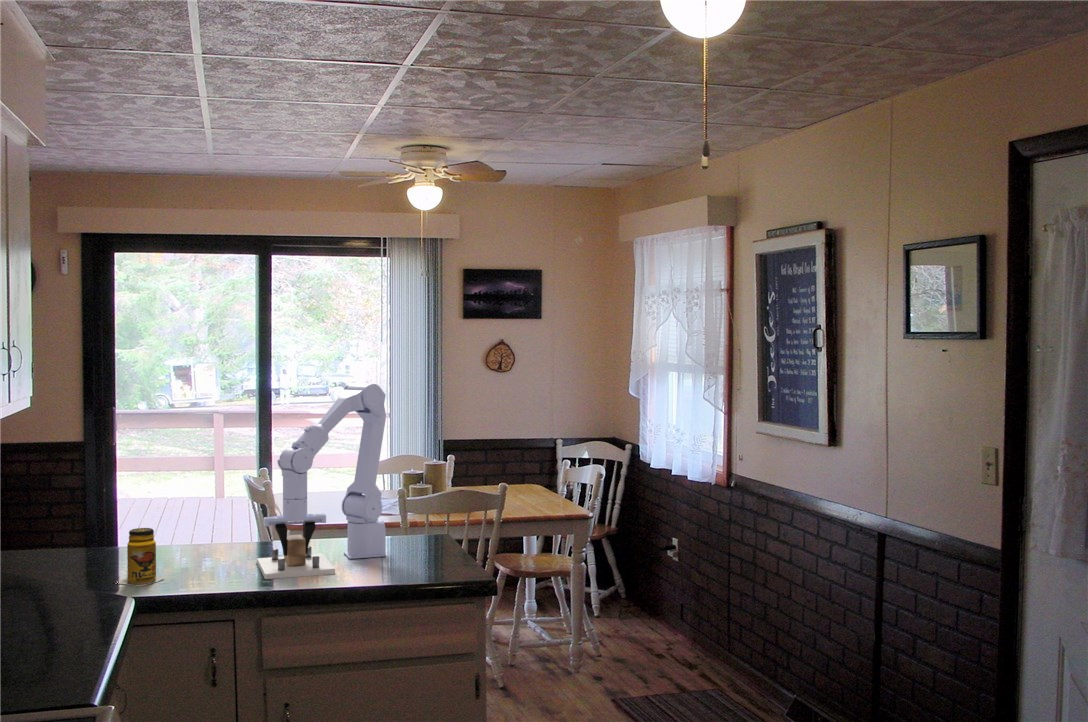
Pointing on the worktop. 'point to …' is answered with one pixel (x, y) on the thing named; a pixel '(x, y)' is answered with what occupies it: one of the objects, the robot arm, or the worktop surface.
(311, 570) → the plate
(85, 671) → the worktop surface
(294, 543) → the walnut block
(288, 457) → the robot arm
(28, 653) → the worktop surface
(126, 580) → the condiment
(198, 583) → the worktop surface
